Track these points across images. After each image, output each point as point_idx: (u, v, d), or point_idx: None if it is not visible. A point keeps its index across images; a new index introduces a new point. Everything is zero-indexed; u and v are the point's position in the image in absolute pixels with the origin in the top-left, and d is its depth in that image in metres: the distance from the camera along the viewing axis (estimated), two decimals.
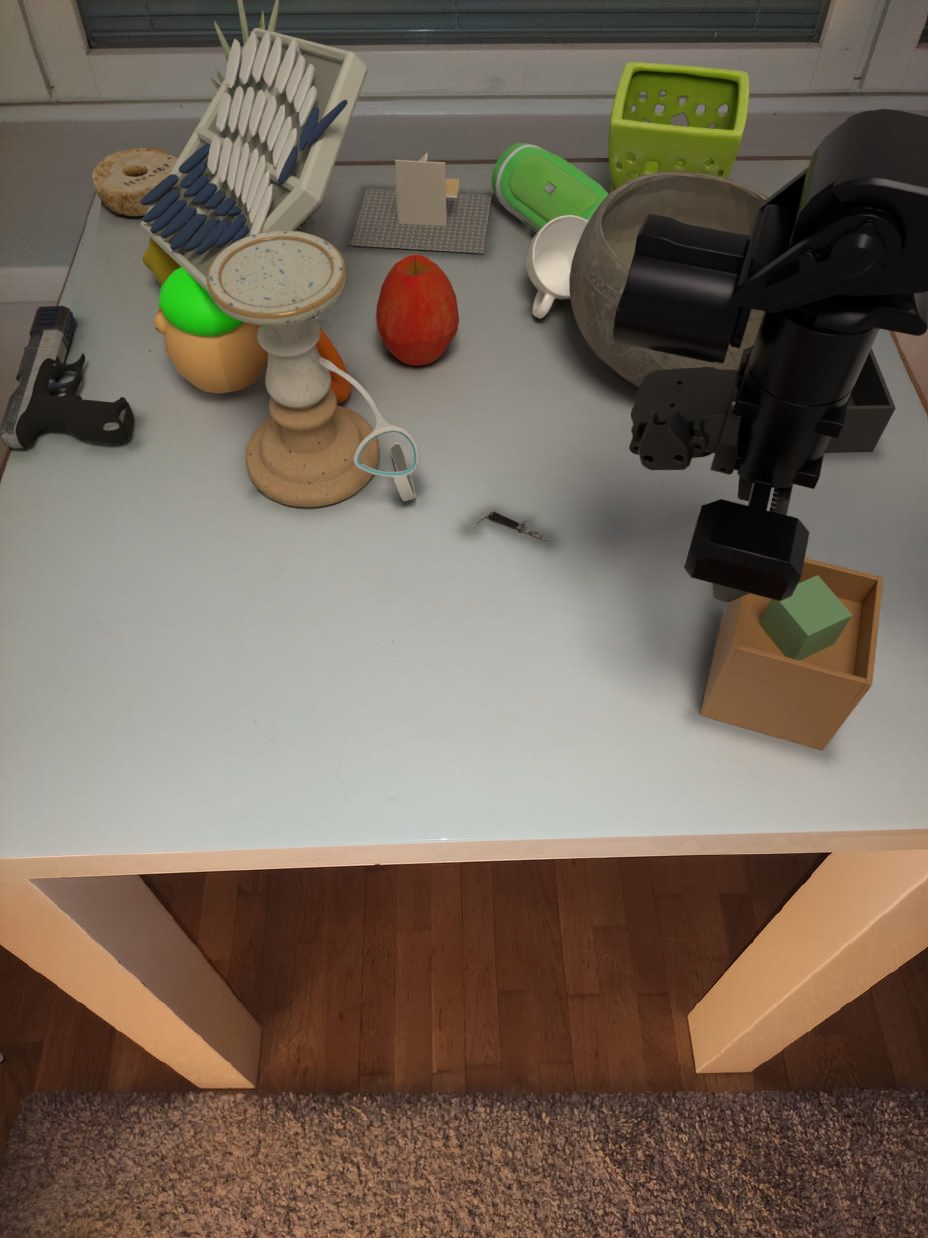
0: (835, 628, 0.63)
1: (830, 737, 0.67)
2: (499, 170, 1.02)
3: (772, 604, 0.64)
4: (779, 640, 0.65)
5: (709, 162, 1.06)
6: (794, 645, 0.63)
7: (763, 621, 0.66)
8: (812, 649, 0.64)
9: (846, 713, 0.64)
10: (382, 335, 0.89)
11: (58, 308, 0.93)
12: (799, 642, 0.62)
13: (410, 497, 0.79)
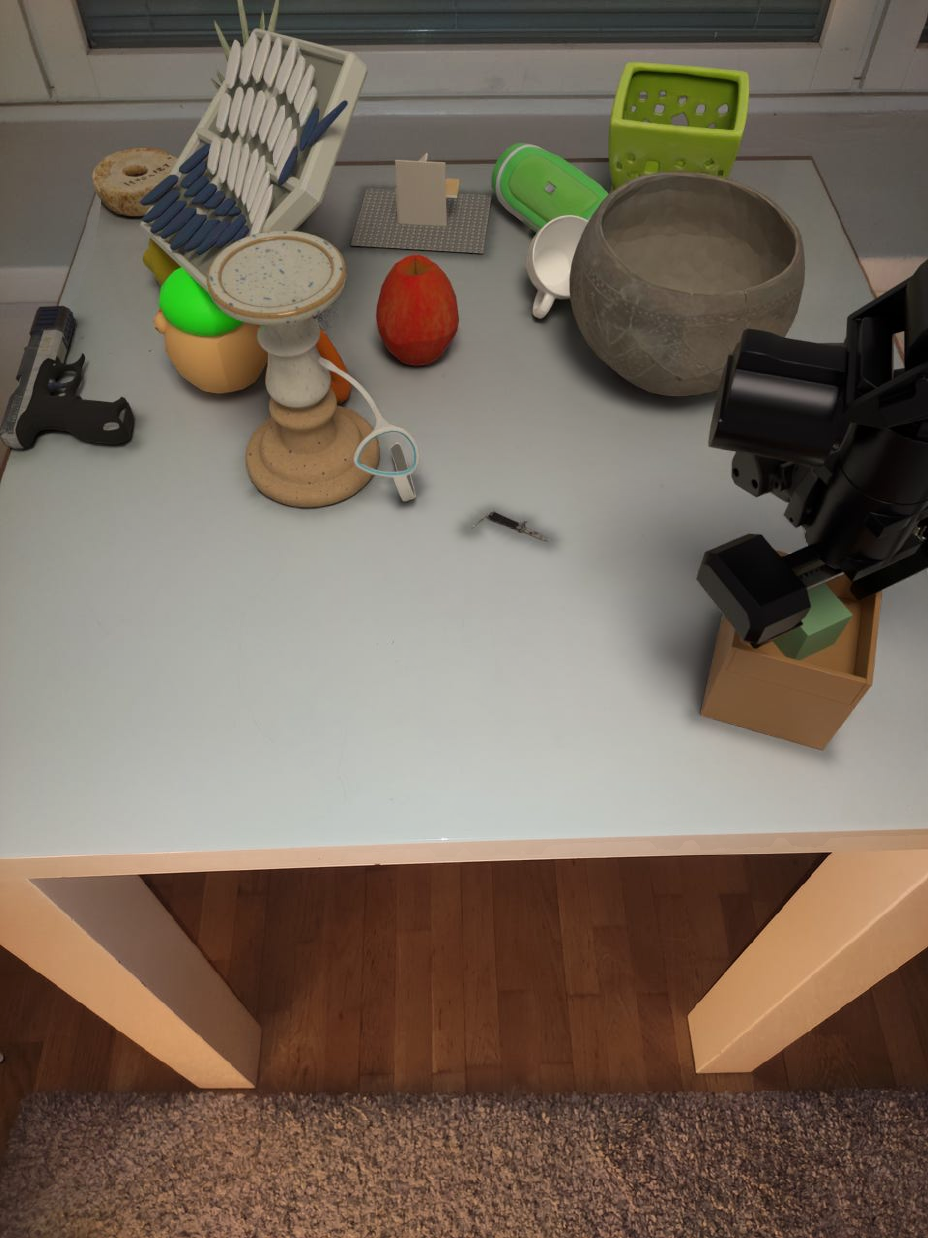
0: (835, 628, 0.63)
1: (830, 737, 0.67)
2: (499, 170, 1.02)
3: None
4: (779, 640, 0.65)
5: (709, 162, 1.06)
6: (794, 645, 0.63)
7: None
8: (812, 649, 0.64)
9: (846, 713, 0.64)
10: (382, 335, 0.89)
11: (58, 308, 0.93)
12: (799, 642, 0.62)
13: (410, 497, 0.79)
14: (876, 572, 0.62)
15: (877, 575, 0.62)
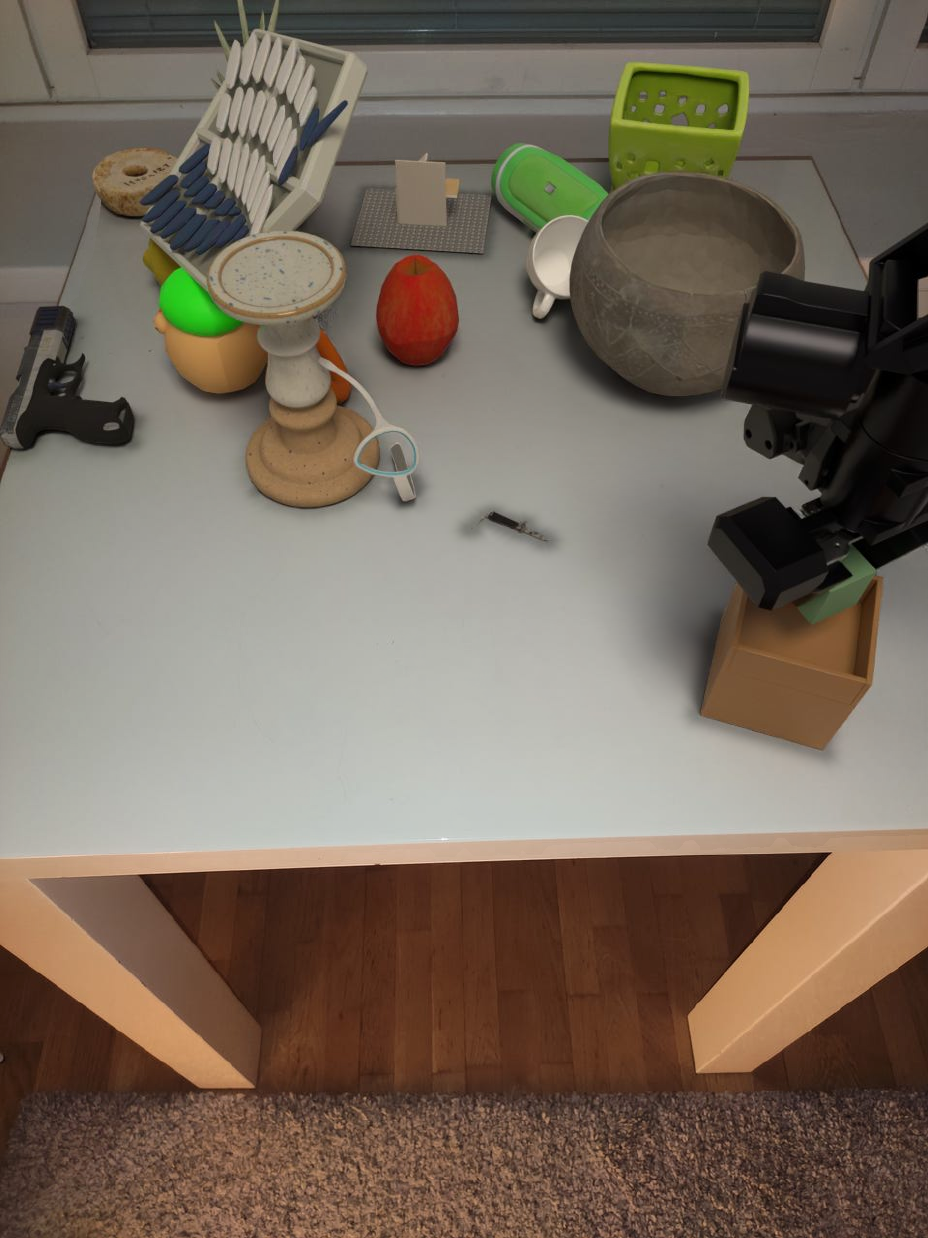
0: (858, 585, 0.59)
1: (830, 737, 0.67)
2: (499, 170, 1.02)
3: None
4: None
5: (709, 162, 1.06)
6: (815, 604, 0.59)
7: None
8: (833, 608, 0.60)
9: (846, 713, 0.64)
10: (382, 335, 0.89)
11: (58, 308, 0.93)
12: (820, 600, 0.59)
13: (410, 497, 0.79)
14: (863, 554, 0.59)
15: (864, 557, 0.59)
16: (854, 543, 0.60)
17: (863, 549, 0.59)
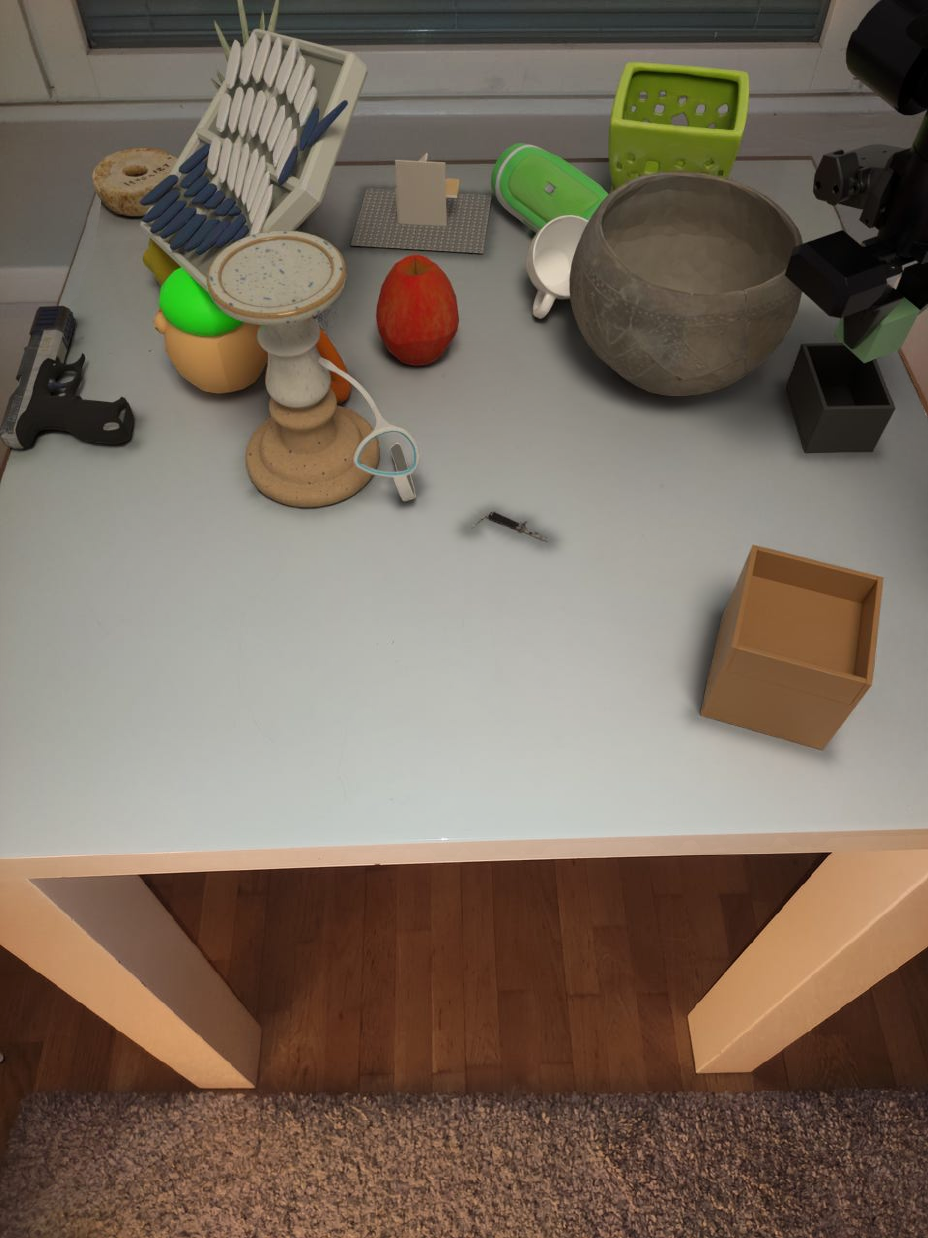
0: (904, 323, 0.71)
1: (830, 737, 0.67)
2: (499, 170, 1.02)
3: None
4: None
5: (709, 162, 1.06)
6: (868, 341, 0.72)
7: (837, 329, 0.74)
8: (883, 347, 0.72)
9: (846, 713, 0.64)
10: (382, 335, 0.89)
11: (58, 308, 0.93)
12: (872, 336, 0.71)
13: (410, 497, 0.79)
14: (908, 299, 0.71)
15: None
16: (900, 292, 0.72)
17: (908, 295, 0.71)
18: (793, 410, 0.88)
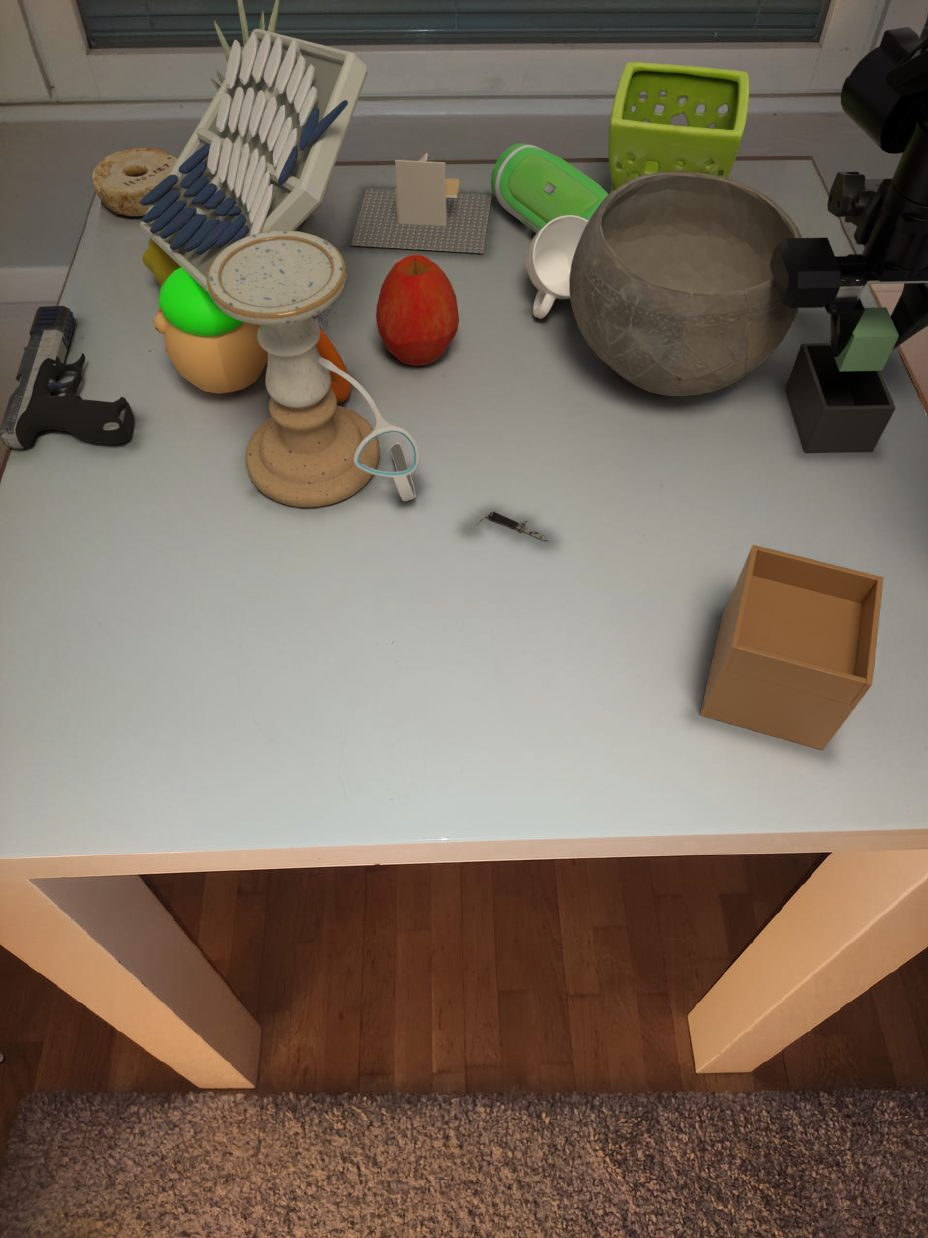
0: (881, 344, 0.78)
1: (830, 737, 0.67)
2: (499, 171, 1.02)
3: None
4: None
5: (709, 162, 1.06)
6: (844, 351, 0.79)
7: None
8: (860, 361, 0.79)
9: (846, 713, 0.64)
10: (382, 335, 0.89)
11: (58, 308, 0.93)
12: (848, 346, 0.78)
13: (410, 497, 0.79)
14: (895, 325, 0.78)
15: None
16: (893, 318, 0.79)
17: (896, 321, 0.78)
18: (793, 410, 0.88)
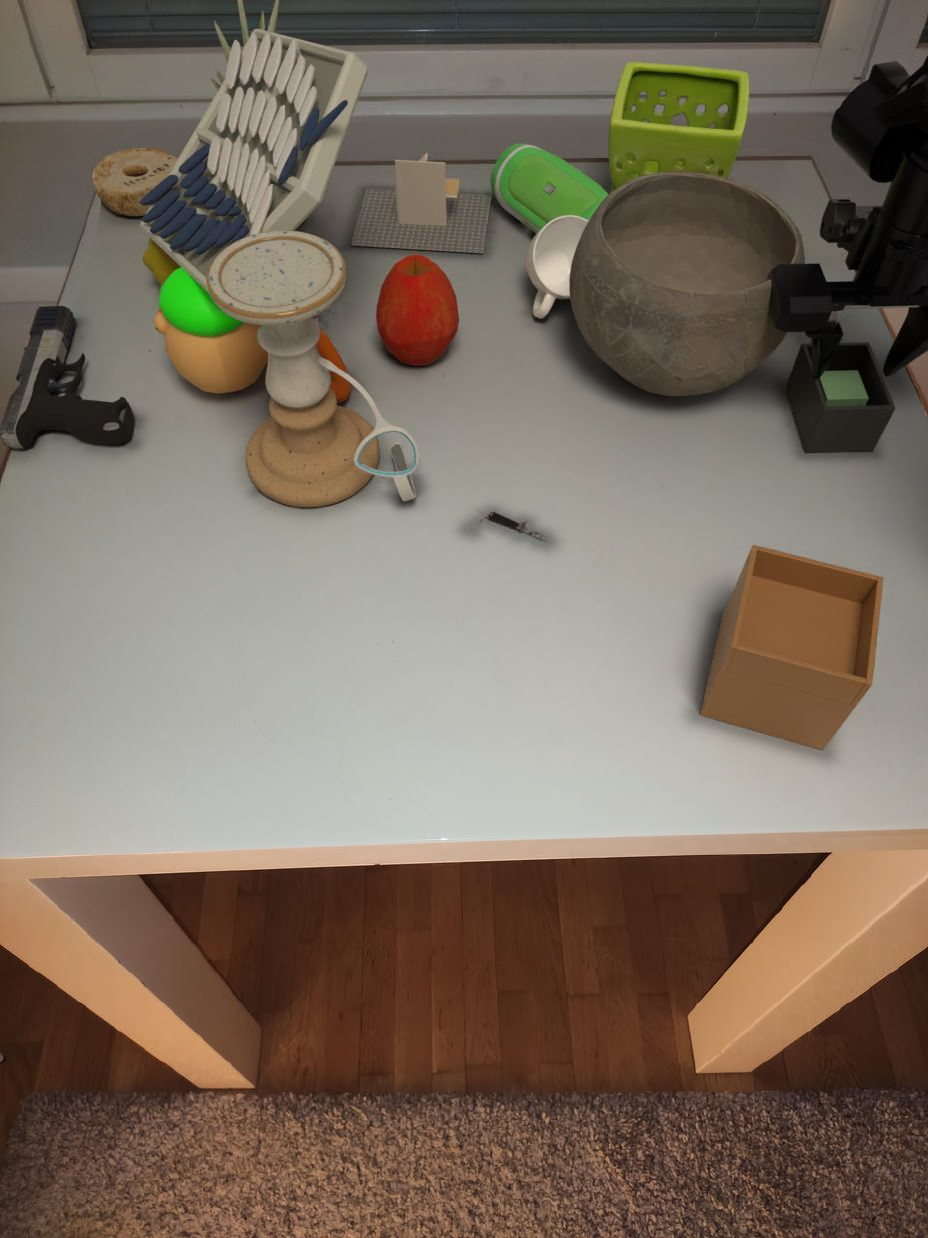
0: (852, 405, 0.84)
1: (830, 737, 0.67)
2: (499, 171, 1.02)
3: None
4: None
5: (709, 162, 1.06)
6: None
7: None
8: None
9: (846, 713, 0.64)
10: (382, 335, 0.89)
11: (58, 308, 0.93)
12: None
13: (410, 497, 0.79)
14: (900, 347, 0.80)
15: (900, 350, 0.80)
16: (898, 340, 0.80)
17: (901, 343, 0.80)
18: (793, 410, 0.88)
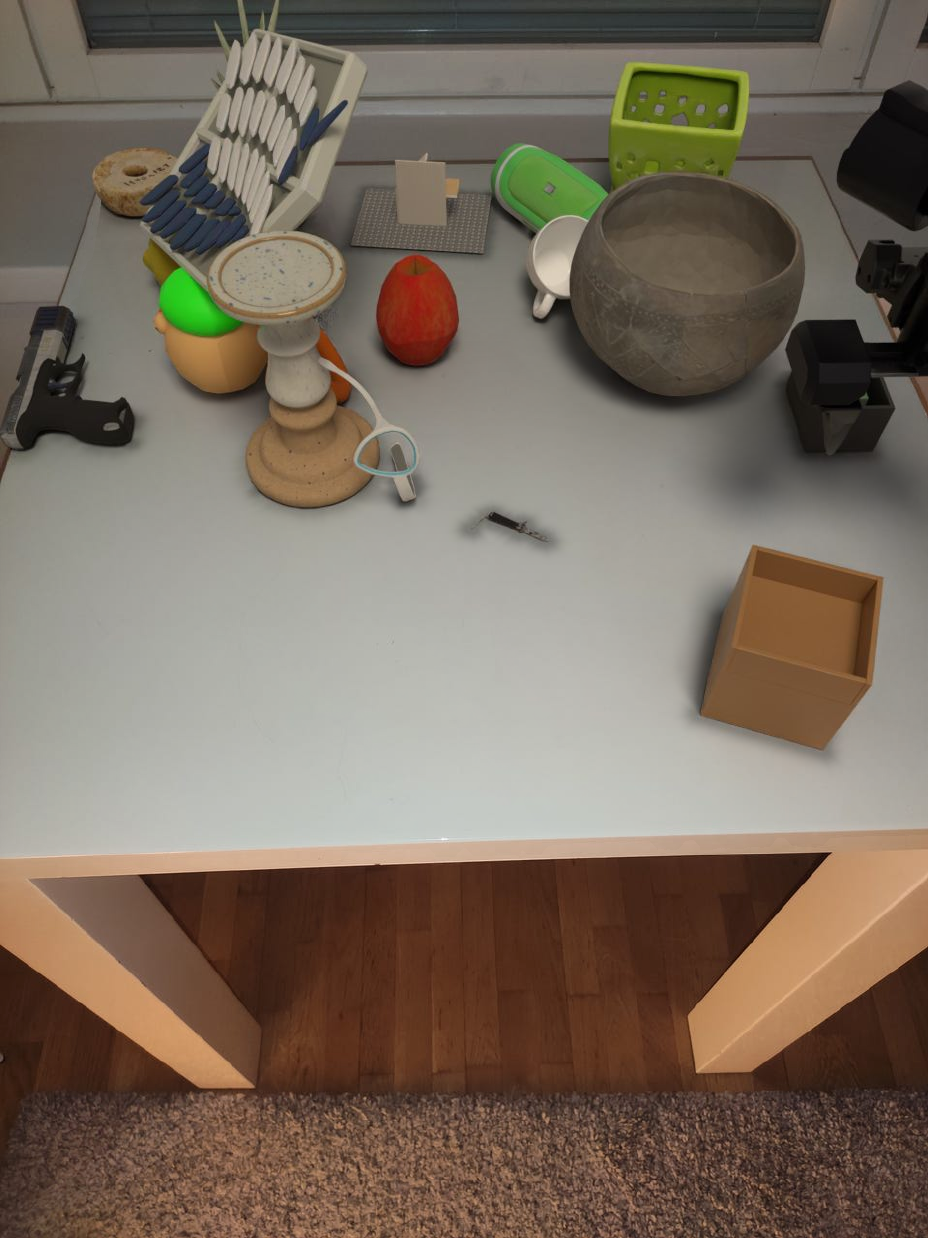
0: None
1: (830, 737, 0.67)
2: (499, 171, 1.02)
3: None
4: None
5: (709, 162, 1.06)
6: None
7: None
8: None
9: (846, 713, 0.64)
10: (382, 335, 0.89)
11: (58, 308, 0.93)
12: None
13: (410, 497, 0.79)
14: None
15: None
16: None
17: None
18: (793, 410, 0.88)
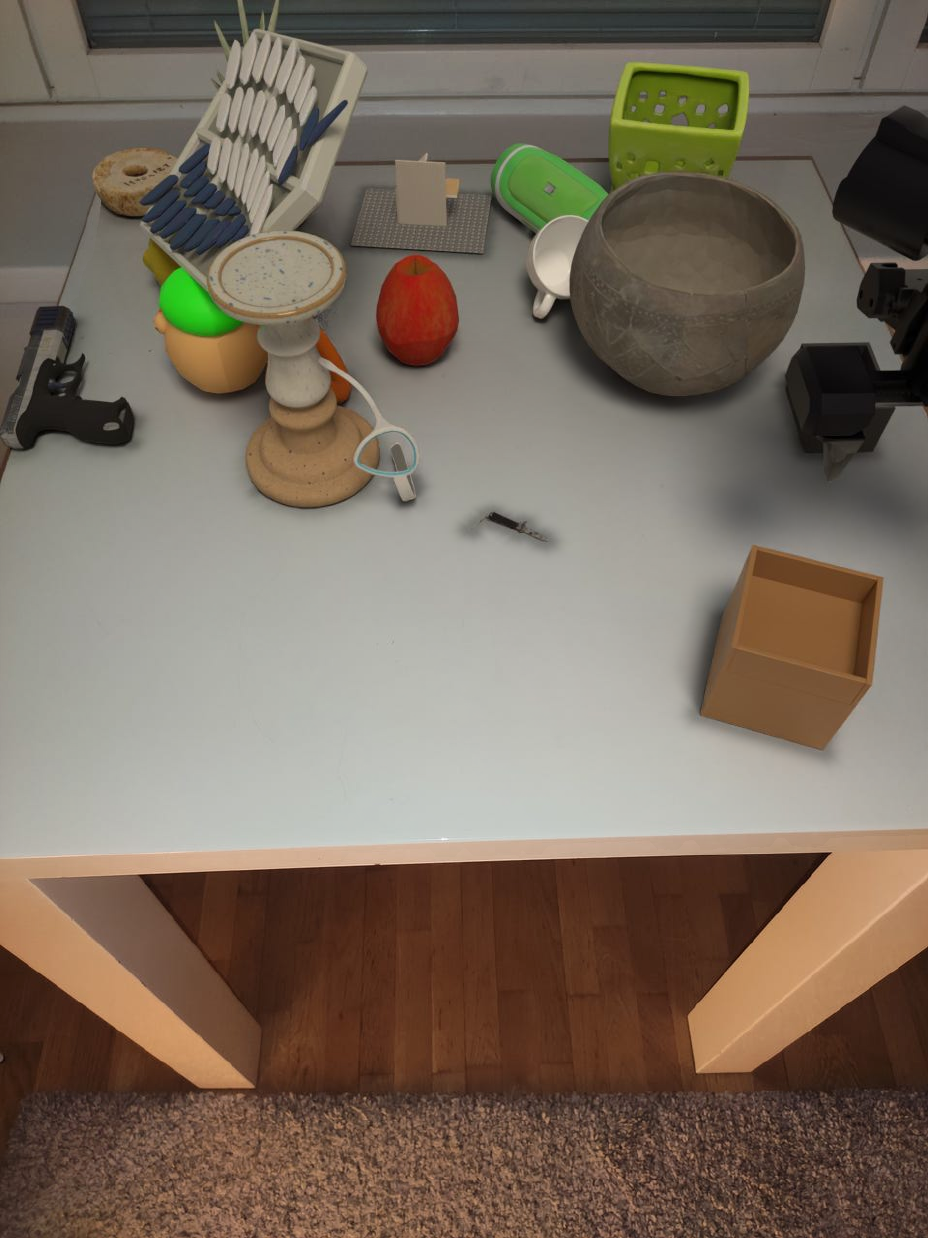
0: None
1: (830, 737, 0.67)
2: (499, 171, 1.02)
3: None
4: None
5: (709, 162, 1.06)
6: None
7: None
8: None
9: (846, 713, 0.64)
10: (382, 335, 0.89)
11: (58, 308, 0.93)
12: None
13: (410, 497, 0.79)
14: None
15: None
16: None
17: None
18: (793, 410, 0.88)
